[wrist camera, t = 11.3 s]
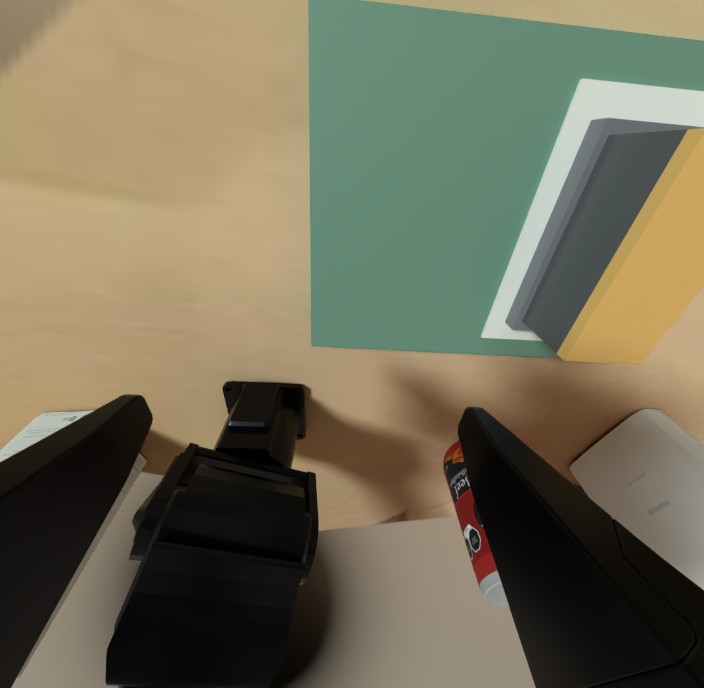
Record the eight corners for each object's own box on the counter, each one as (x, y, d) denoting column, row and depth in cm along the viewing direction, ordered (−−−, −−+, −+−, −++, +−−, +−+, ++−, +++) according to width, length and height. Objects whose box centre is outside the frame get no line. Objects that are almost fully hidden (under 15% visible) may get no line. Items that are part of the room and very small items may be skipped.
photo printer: (638, 402, 25) (836, 569, 15) (673, 411, 26) (883, 577, 16) (559, 466, 31) (665, 622, 21) (590, 473, 32) (707, 625, 21)
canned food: (500, 420, 26) (581, 561, 17) (526, 460, 30) (604, 594, 21) (427, 451, 29) (465, 588, 20) (459, 485, 33) (504, 614, 23)
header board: (573, 347, 22) (636, 401, 17) (313, 334, 21) (304, 388, 16) (750, 61, 13) (983, 8, 8) (312, 10, 12) (290, -84, 7)
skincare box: (41, 411, 25) (-264, 670, 12) (108, 406, 24) (-133, 664, 12) (97, 467, 29) (-84, 695, 17) (154, 463, 29) (14, 691, 17)
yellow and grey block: (584, 324, 18) (639, 364, 14) (521, 321, 17) (563, 360, 14) (695, 143, 12) (822, 139, 9) (608, 134, 12) (707, 127, 9)
